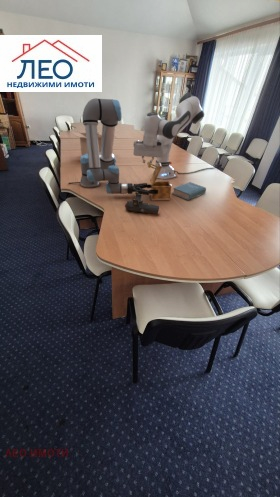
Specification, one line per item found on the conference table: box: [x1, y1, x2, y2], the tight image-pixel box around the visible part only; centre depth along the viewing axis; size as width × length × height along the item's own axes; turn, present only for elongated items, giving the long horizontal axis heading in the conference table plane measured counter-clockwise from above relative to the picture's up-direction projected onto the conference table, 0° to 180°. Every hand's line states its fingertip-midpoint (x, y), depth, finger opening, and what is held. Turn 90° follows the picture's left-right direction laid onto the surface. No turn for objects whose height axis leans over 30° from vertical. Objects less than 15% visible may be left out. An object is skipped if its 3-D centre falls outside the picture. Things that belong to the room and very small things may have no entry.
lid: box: [146, 161, 162, 186], centre depth 157 cm, size 15×10×9 cm
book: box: [172, 181, 207, 201], centre depth 178 cm, size 23×16×5 cm
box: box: [70, 130, 102, 156], centre depth 229 cm, size 44×36×27 cm
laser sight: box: [124, 194, 160, 215], centre depth 146 cm, size 10×22×10 cm, turn 78°
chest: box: [149, 180, 172, 201], centre depth 166 cm, size 14×10×11 cm
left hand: (156, 189), depth 165 cm, fingers closed on chest, 10 cm apart
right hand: (147, 163), depth 153 cm, fingers open, 3 cm apart
